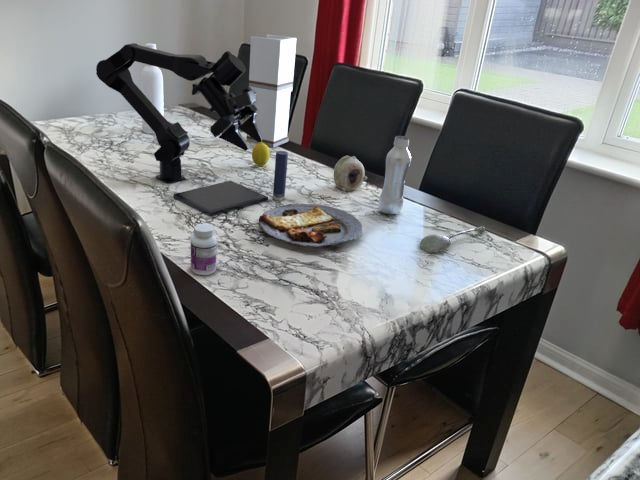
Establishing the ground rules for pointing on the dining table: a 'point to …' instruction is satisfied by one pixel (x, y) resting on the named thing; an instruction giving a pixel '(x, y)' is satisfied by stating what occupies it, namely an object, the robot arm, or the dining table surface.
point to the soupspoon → (442, 240)
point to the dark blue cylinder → (280, 175)
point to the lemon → (260, 154)
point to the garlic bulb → (349, 173)
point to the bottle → (152, 88)
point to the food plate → (310, 225)
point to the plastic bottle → (395, 176)
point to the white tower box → (272, 86)
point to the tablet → (220, 197)
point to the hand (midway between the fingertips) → (254, 145)
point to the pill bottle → (203, 250)
